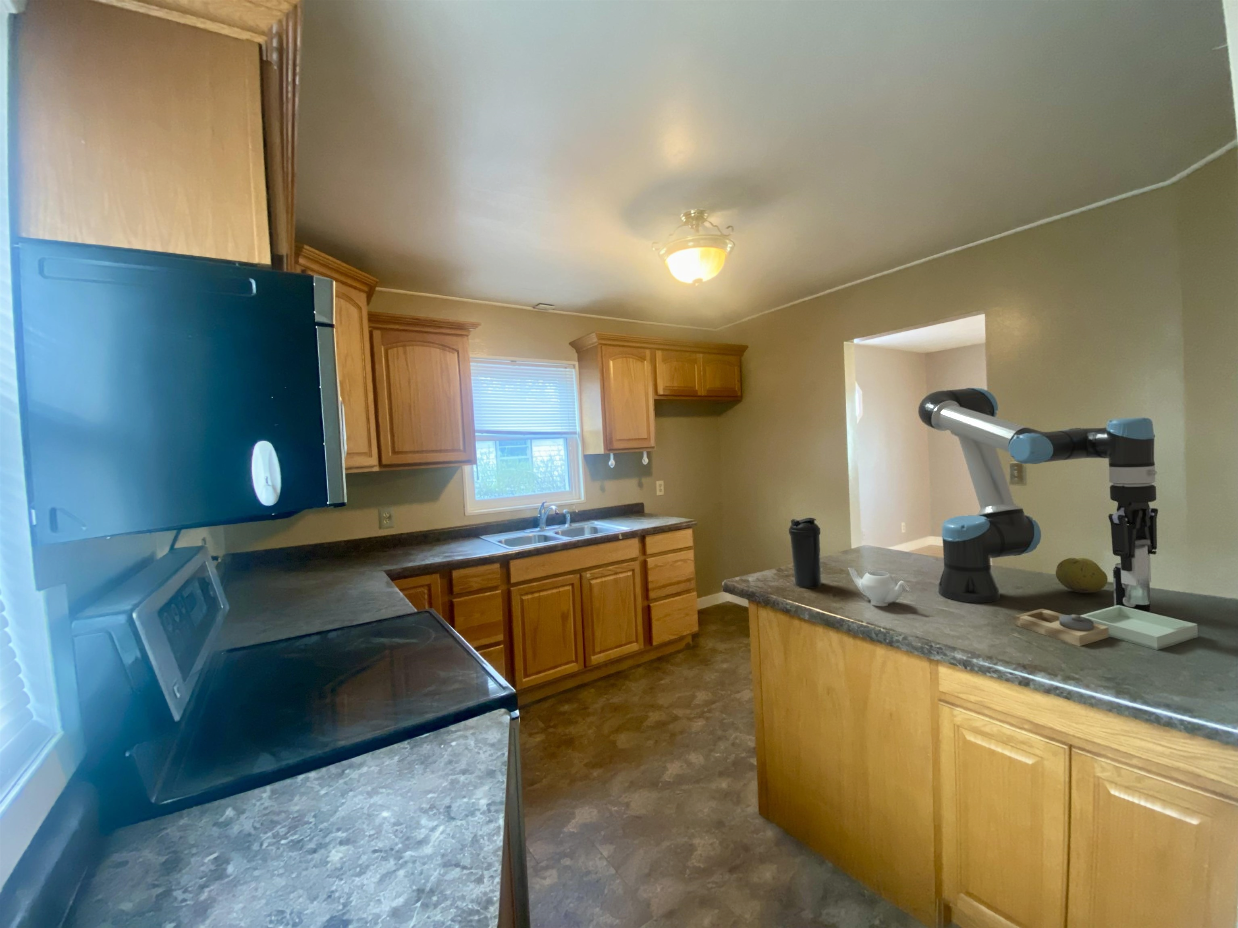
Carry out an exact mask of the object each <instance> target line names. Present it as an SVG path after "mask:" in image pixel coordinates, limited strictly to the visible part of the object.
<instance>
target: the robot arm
mask: <svg viewBox="0 0 1238 928" xmlns="http://www.w3.org/2000/svg"><path fill="white" fill-rule="evenodd" d="M998 410H999V405H998V401H997V399H996V397H995V396H994V394H992V392H991V391H989V390H987V389H985V388H979V387H966V388H959V389H947V390H937V391H934V392H931V393H929V394H927V395H926V396H925V397H924V398H923V399H922V400H921V401H920V403H919V405H918V410H917V412H918V413H917V414H918V417H919V419H920V420H921V422H922V423H923V424H924V425H926V426H927V427H929V428H931V429H934V430H938V431H940V432H943V431H944V432H945V431H950V434H951V435H953V436H955V437H957V438H958V441H959V444H960V448H961V450H962V453H963V454H962V455H963V456H964V459H965V464H966V466H967V469H968V470H967V471H968V472H969V473H968V474H969V475H970V479H971V483H972V485H973V489H974V491H975V494H976V497H977V501H978V504H979V508H980V510H979V511H978V513H977V514H976V515H974V514H971V515H970V514H968V515H959V516H953V517H950V518H948V519H946V520H945V521H944V522H943V523H942V529H941V530H942V531H941V538H942V551H943V553H942V554H943V571H942V573H941V576H940V580H939V582H938V588H937V589H938V593H939V595H941V596H942V597H944V598H947V599H951V600H954V601H959V602H964V603H977V604H982V603H983V604H984V603H993V602H997V601H998V600H999V599H1000V595H1001V594H1000V589H999V587H998V585H997V582H996V580H995V577H994V575H993V573H992V565H991V564H992V563H991V559H997V558H1004V557H1005V558H1006V557H1012V556H1014V557H1015V556H1022V555H1024V554H1029V553H1032V552H1033V551H1034V550H1037V548H1038V546H1039V544H1040V543H1041V539H1042V532H1041V527H1040V525H1039V523H1038V521H1036V520H1035V519H1033V517H1031V516H1030V515H1026V514H1025V511H1024V509H1023V507H1022V506H1020V505H1017V504H1016V503H1015V501H1014V499H1013V495H1012V492H1011V490H1010V485H1009V484H1008V480H1007V478H1006V473H1005V470H1004V468H1003V465H1002V462H1001V459H1000V456H999V452H998V450H997V449H999V450H1002V451H1003V452H1004V451H1005V452H1006V453H1009V455H1010V457H1011V458H1012V459H1014V461H1015V462H1016V463H1019V464H1023V465H1025V464H1027V465H1029V464H1030V465H1037V464H1042V463H1050V462H1058V461H1060V462H1061V461H1071V460H1079V459H1108V473H1109V474H1108V476H1109V477H1108V479H1109V481H1108V482H1109V483H1111V485H1109V498H1110V500H1111V501H1113V502H1116V503H1117V507H1116V512H1115V513H1109V514H1108V516H1107V517H1108V520H1109V523H1110V533H1111V535H1110V536H1111V547H1112V554H1113V555H1114V556H1115V557H1120V563H1121V583H1124V584H1129V585H1134V586H1138V567H1137V558H1135V557H1134V552H1135V541H1136V537H1137V538H1145V539H1149V540H1150V545H1147V548H1148V572H1149V582H1150V583H1152V568H1151V555H1156V554H1157V549H1158V532H1157V531H1158V529H1157V527H1158V525H1157V523H1158V522H1157V519H1158V513H1159V509H1158V508H1155V507H1154V508H1153V507H1150V504H1149V503H1152V502H1155V501H1156V500H1157V486H1155V482H1156V475H1157V474H1158V472H1157V470H1156V464H1155V463H1156V462H1155V437H1156V435H1155V433H1154V424H1153V420H1152V419H1151V418H1149V417H1145V416H1144V417H1142V416H1141V417H1131V418H1130V417H1127V418H1126V417H1125V418H1114V419H1110V420H1108V421H1107V423H1106V427H1085V428H1084V427H1082V428H1081V427H1074V428H1066V429H1065V428H1064V429H1062V430H1055V431H1054V430H1053V431H1041V430H1038V429H1034V428H1031V427H1028V426H1025V425H1022V424H1019V423H1015V422H1012V421H1009V420H1005V419H1003V418H998V417H996V416H997V415H998V412H997V411H998Z"/></svg>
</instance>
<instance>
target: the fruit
mask: <svg viewBox="0 0 1238 928" xmlns="http://www.w3.org/2000/svg"><path fill="white" fill-rule="evenodd" d="M1055 577H1056V579H1057V581H1058V582H1059V583H1060V584H1061V585H1062V586H1063V587H1065V588H1067V589H1068V590H1070V591H1072V592H1076V593H1079V594H1086V593H1087V594H1088V593H1095V592H1099V591H1101V590H1102V589H1104V588H1105V586H1106V585H1107V584H1108V575H1107V573H1106V572H1105V571H1103V569H1102V568H1101V567H1100V566H1099V565H1098V564H1097V563H1096V562H1095V561H1094V560H1092V559H1090V558H1086V557H1078V558H1076V557H1068V558H1065V559H1063V560H1060V562H1059V563H1058V564H1057V565H1056V569H1055Z"/></svg>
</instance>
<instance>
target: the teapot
mask: <svg viewBox="0 0 1238 928" xmlns="http://www.w3.org/2000/svg"><path fill="white" fill-rule="evenodd" d="M847 570H848V571H849V574H850V576H851V578H852V580H853V582H854V584H855V586H856V588H857V589H858V590H859V591H860V593H862V594H863V595H865V597H866V596H867V597H868V599H869V600H870V605H872V606H875V607H887V606H888V605H889V604H891V603H894V602H896V601H897V600H899V599H900V598H901V596H902V594H903V590H904V588H905V589H906V591H909V592H912V589H911V587H909V586H908V585H907V583H906V582H905V581H903V580H900V581H899V582H898V584H897V581H896V579H895V578H894V577H893V576H892V574H890V573H889V572H887V571H883V570H871V571H868V572H866V573H865V574H864V575H863V577H861V576H859V574H858V573H857V570H856V569H855V567H853V566H849V567H848V569H847Z"/></svg>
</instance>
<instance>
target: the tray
mask: <svg viewBox="0 0 1238 928" xmlns="http://www.w3.org/2000/svg"><path fill="white" fill-rule="evenodd" d="M1079 616H1080V617H1085V618H1088V619H1090V620H1092V621H1093V623H1096V624H1100V625H1103V626H1107V627H1108V630H1109V637H1111V638H1114V639H1118V640H1120V641H1125V642H1128V643H1132V644H1135V645H1137V646H1142V647H1145V648H1148V649H1152V650H1155V651H1159V650H1162V649H1165V648H1168V647H1172V646H1175V645H1178V644H1181V643H1184V642H1187V641H1190V640H1194V639H1197V638H1198V637H1199V634H1198V633H1199V632H1198V623H1194V622H1191V621H1190V622H1189V621H1185V620H1181V619H1177V618H1173V617H1170V616H1165V615H1161V614H1157V613H1152V612H1150V611H1149V612H1145V611H1141V610H1136V609H1132V608H1128V607H1124V606H1120V605H1117V606H1114V605H1113V606H1111V607H1107V608H1103V609H1099V610H1096V611H1095V610H1094V611H1091V612H1088V613H1084V614H1081V615H1079Z"/></svg>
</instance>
